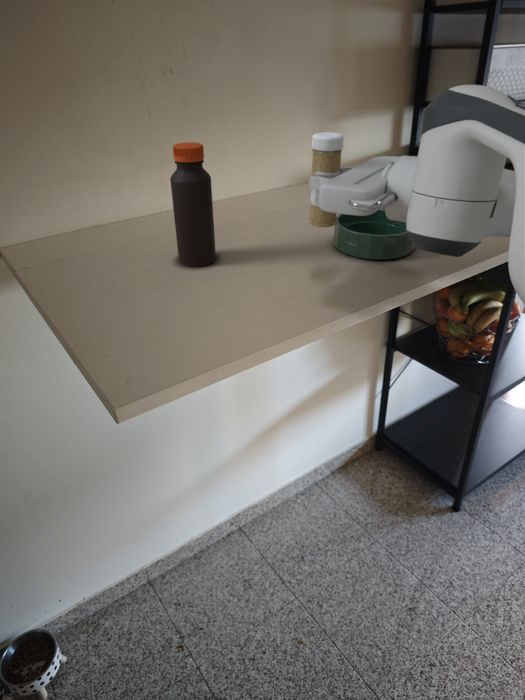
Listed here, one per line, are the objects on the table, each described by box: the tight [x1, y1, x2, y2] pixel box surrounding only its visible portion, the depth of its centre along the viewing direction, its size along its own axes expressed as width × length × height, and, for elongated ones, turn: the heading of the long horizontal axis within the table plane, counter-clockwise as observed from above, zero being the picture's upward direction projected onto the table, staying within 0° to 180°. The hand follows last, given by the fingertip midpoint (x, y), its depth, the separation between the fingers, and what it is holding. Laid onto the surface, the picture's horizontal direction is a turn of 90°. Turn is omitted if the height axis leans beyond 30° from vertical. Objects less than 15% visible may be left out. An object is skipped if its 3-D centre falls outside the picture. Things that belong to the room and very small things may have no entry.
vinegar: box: [169, 141, 217, 268], centre depth 86 cm, size 7×7×20 cm
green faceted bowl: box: [332, 209, 415, 261], centre depth 95 cm, size 15×15×5 cm
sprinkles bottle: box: [308, 131, 344, 228], centre depth 76 cm, size 5×5×13 cm
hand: (320, 176), depth 77 cm, fingers closed on sprinkles bottle, 4 cm apart
